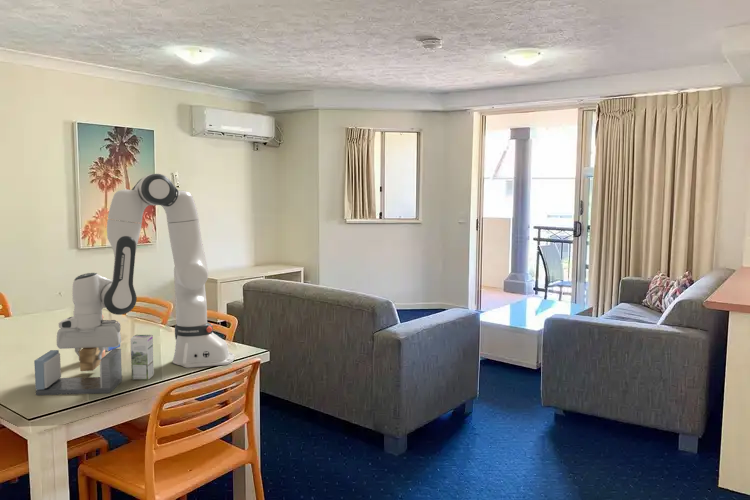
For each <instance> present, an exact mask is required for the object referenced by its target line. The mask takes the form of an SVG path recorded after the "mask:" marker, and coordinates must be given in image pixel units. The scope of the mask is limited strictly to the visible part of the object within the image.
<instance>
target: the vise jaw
mask: <svg viewBox="0 0 750 500" xmlns="http://www.w3.org/2000/svg"><path fill="white" fill-rule="evenodd" d="M59 351H60V350H59V349H55V350H54V349H51V350H49V351H48V352H46V353H44V354H42V355H41V356H40V357H38V358H36V359H35V360H34V363H33V364H34V380H35V381H34V385H35V391H36V390H41V389H45V388H48V387H49V386H50V385H51V384H53V383H54V382H55V381H57V380H58V379H59V378H62V369H61V368H62V367H61V353H60V352H59Z"/></svg>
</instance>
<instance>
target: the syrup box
mask: <svg viewBox="0 0 750 500" xmlns="http://www.w3.org/2000/svg"><path fill="white" fill-rule="evenodd" d="M153 336H154V335H153V334H135V335H133V336H132V337H130V359H131V361H130V362H131V365H130V366H131V380H133V381H134V380H138V381H139V380H140V381H141V380H143V381H147V380H150V379H151V378H153V376H154V375H155V371H154V337H153Z"/></svg>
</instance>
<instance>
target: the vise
mask: <svg viewBox="0 0 750 500" xmlns="http://www.w3.org/2000/svg"><path fill="white" fill-rule="evenodd" d="M122 368H123V367H122V348H115V349H113V350H110V351H108V352H107V354H105V356H104V357H103V358H102V359H101V361H100V365H99V376H93V377H91V376H88V377H60V378H59V379H58V380H57V381H55V382H54V383H53V384H51V385H50V386H49V387H48V388H45V389H41V390H36V389H35V396H50V395H51V396H53V395H54V396H55V395H57V396H58V395H59V394H62V395H86V394H88V395H89V394H111V393H112V392H113V391H114V390H115V389H116V387H118V386H119V384H120V383H122V381H123V378H122V377H123V375H122V374H123V373H122Z"/></svg>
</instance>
